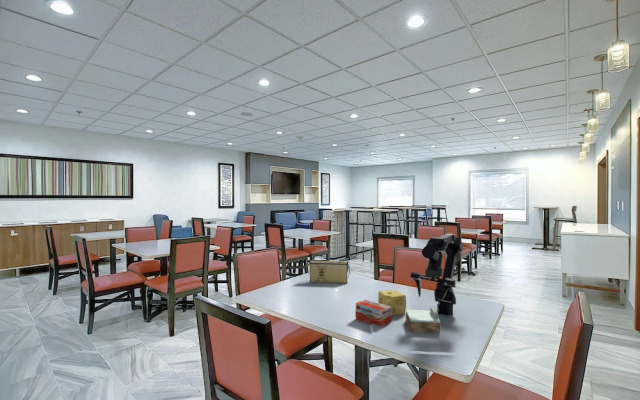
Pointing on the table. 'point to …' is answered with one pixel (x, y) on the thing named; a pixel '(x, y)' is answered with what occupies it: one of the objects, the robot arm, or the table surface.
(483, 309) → the table surface
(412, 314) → the lid
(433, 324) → the walnut box
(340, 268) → the clutch purse
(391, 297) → the cheese
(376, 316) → the medicine box
